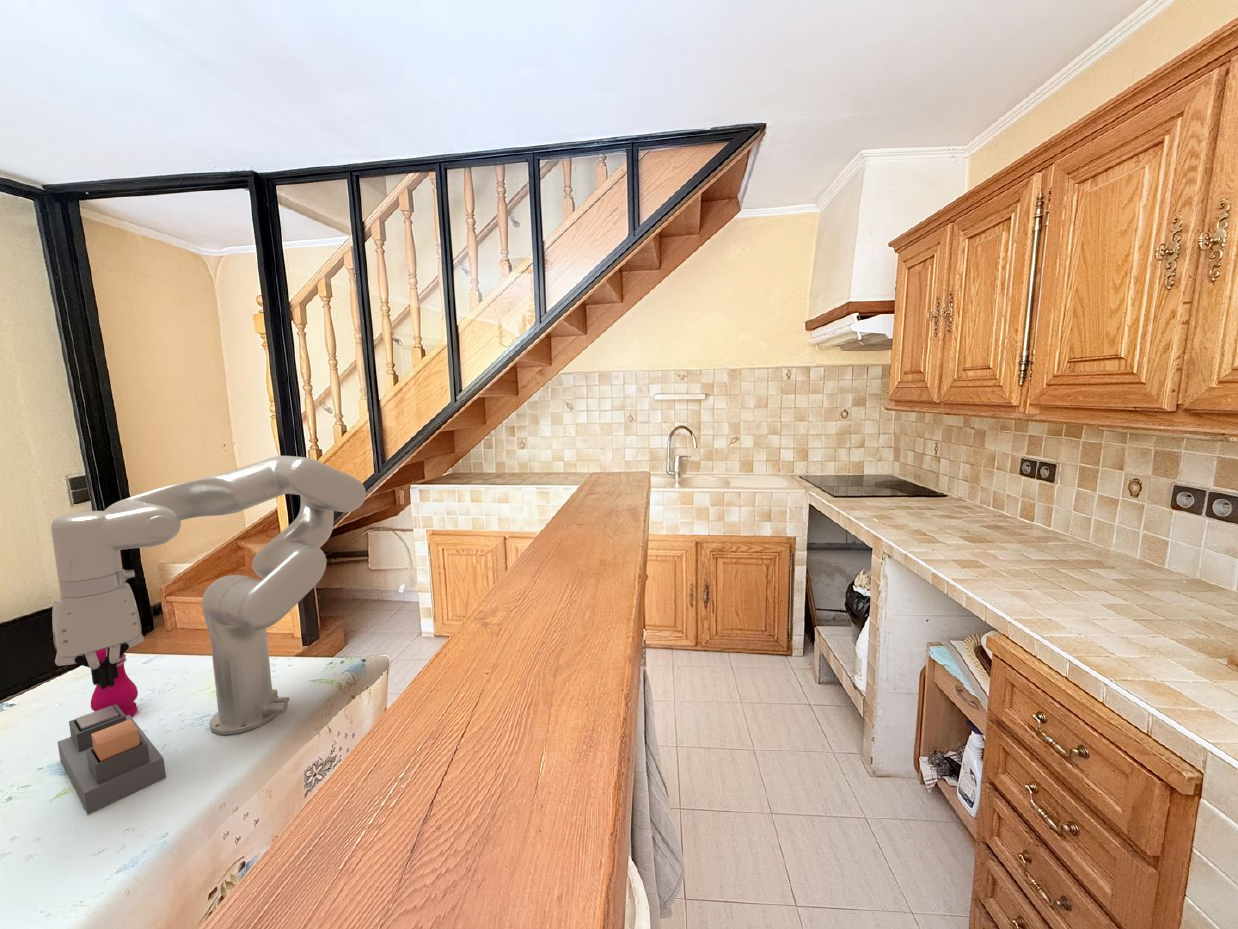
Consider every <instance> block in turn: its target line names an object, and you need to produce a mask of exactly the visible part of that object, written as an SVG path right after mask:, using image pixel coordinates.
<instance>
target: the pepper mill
mask: <svg viewBox="0 0 1238 929" xmlns="http://www.w3.org/2000/svg"><path fill="white" fill-rule="evenodd" d="M106 652H107V648H106V649H102V650H99V651H95V653H96V655H97V658H98V660H100V661H101V662H102V664H103V662H104V660H105V658H106ZM126 657H127V656H126V654H125V653H124V654H123V655H122V656H121V657H120V658H119V661H118V662H117V670H118V678H116V679H114V686H111V687H110V686H109V687H108V685H107V687H106V688H105V689H102V690H101V688H100V686H99V685H98V684H97V685H95V687H94V688H95V689H94V690H93V693H92V696H91V698H90V709H91V710H92V712H95V711H98V710H101V709H103V708H106V707H109V706H113V705H116V704H117V705H118V707H119V708H120V709H121V710H122V712H123V713H124V714H125V716H127V715H130V716H131V717H132V718H133V716H135V715H136V714H137V712H138V707H137V703H136V702H135V701H136V699H137V698H138V695H139V691H138V687H137V685H136V684H135V683H134V682H133V680H131V678H130V677H129V676H128V675H127V672H126V669H125V663H126V662H127V658H126ZM135 713H136V714H135Z"/></svg>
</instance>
